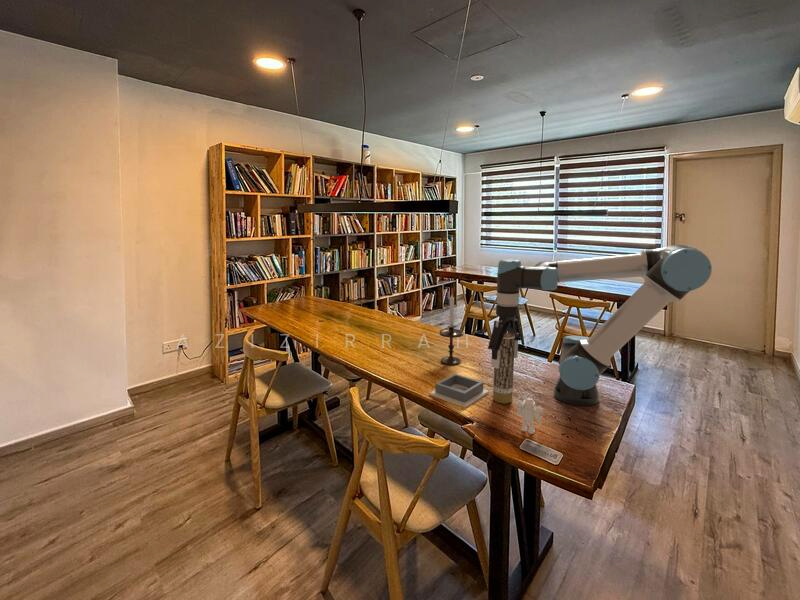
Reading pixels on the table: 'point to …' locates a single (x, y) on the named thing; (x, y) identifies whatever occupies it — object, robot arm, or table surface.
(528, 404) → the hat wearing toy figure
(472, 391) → the collar stand
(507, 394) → the paper tube
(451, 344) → the candlestick
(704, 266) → the robot arm
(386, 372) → the table surface
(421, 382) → the table surface
